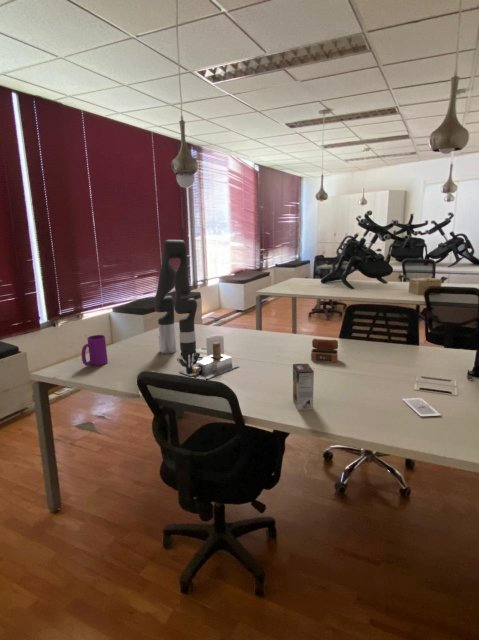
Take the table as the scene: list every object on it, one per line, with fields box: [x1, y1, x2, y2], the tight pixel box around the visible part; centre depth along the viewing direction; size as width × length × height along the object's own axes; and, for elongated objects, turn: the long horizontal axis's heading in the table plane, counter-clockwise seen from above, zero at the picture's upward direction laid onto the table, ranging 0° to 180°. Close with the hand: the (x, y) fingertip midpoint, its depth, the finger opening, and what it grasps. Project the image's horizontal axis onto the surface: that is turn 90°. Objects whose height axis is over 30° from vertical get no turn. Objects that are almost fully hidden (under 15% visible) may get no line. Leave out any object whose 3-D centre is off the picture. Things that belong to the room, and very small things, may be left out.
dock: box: [178, 354, 240, 380], centre depth 198 cm, size 18×25×5 cm
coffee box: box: [292, 363, 315, 411], centre depth 154 cm, size 9×6×16 cm
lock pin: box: [193, 366, 202, 374], centre depth 194 cm, size 3×13×3 cm, turn 137°
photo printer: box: [205, 333, 225, 357], centre depth 218 cm, size 10×4×12 cm, turn 123°
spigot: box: [213, 342, 221, 360], centre depth 201 cm, size 4×4×12 cm
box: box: [310, 338, 339, 364], centre depth 207 cm, size 28×28×12 cm
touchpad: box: [402, 397, 442, 417], centre depth 150 cm, size 8×15×2 cm, turn 3°
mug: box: [81, 334, 108, 367], centre depth 208 cm, size 9×16×15 cm, turn 156°
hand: (189, 374), depth 189 cm, fingers closed
